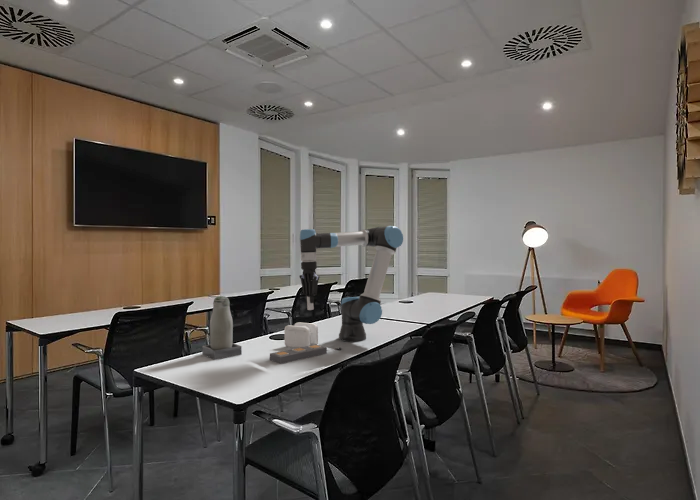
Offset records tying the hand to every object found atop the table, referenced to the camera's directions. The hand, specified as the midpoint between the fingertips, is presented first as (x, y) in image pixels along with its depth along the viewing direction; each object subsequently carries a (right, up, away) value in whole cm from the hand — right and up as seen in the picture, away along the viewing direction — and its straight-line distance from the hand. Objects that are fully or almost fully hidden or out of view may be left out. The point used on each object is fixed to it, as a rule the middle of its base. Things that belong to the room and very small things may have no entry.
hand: (310, 309), depth 207 cm
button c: (-11, -20, -18) cm, 29 cm away
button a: (+3, -20, -6) cm, 21 cm away
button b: (-4, -20, -12) cm, 24 cm away
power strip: (0, -21, -8) cm, 22 cm away
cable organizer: (-5, -21, +10) cm, 24 cm away
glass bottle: (-42, -21, -2) cm, 48 cm away
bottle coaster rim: (-42, -21, -2) cm, 47 cm away
